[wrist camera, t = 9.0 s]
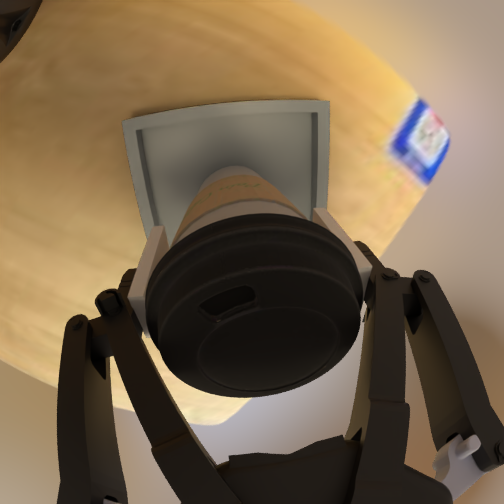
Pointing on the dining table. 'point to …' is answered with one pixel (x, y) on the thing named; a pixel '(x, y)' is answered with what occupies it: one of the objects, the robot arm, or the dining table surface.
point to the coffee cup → (252, 292)
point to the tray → (227, 153)
